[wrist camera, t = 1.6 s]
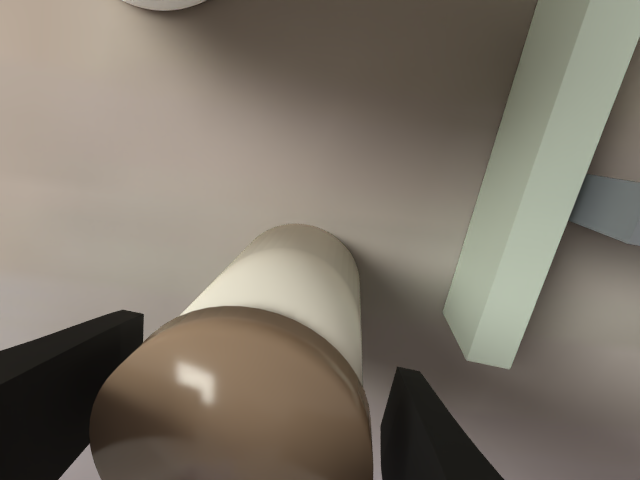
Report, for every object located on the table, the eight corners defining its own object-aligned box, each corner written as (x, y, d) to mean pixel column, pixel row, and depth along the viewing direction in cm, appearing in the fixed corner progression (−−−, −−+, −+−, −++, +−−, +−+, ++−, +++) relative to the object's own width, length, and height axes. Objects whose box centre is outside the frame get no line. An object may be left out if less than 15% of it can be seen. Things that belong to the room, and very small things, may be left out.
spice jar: (349, 351, 17) (342, 592, 8) (229, 326, 17) (91, 533, 8) (376, 234, 15) (405, 373, 6) (242, 208, 15) (85, 307, 6)
